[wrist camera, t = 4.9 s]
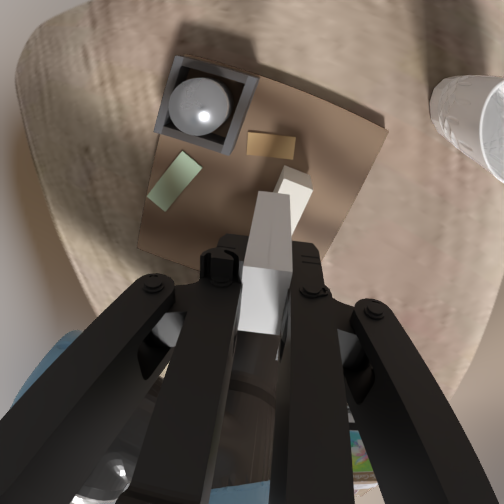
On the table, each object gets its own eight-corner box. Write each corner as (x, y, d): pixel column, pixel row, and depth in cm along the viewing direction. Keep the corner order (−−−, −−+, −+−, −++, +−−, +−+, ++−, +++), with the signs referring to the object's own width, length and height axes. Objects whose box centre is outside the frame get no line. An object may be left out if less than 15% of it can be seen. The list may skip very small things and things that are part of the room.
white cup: (408, 91, 23) (462, 104, 15) (468, 57, 20) (533, 62, 12) (444, 162, 26) (498, 204, 18) (499, 128, 23) (561, 158, 14)
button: (223, 135, 25) (216, 143, 23) (174, 120, 25) (162, 126, 22) (241, 86, 23) (235, 87, 20) (189, 71, 22) (177, 71, 20)
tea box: (378, 403, 47) (387, 480, 34) (358, 429, 52) (362, 497, 40) (292, 399, 47) (288, 482, 35) (281, 426, 53) (276, 497, 40)
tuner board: (296, 297, 36) (296, 320, 33) (140, 242, 34) (127, 261, 31) (385, 128, 25) (398, 137, 22) (188, 54, 24) (173, 52, 20)
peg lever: (272, 280, 33) (269, 312, 29) (231, 266, 33) (223, 296, 29) (320, 179, 27) (326, 201, 23) (273, 161, 27) (270, 178, 22)
